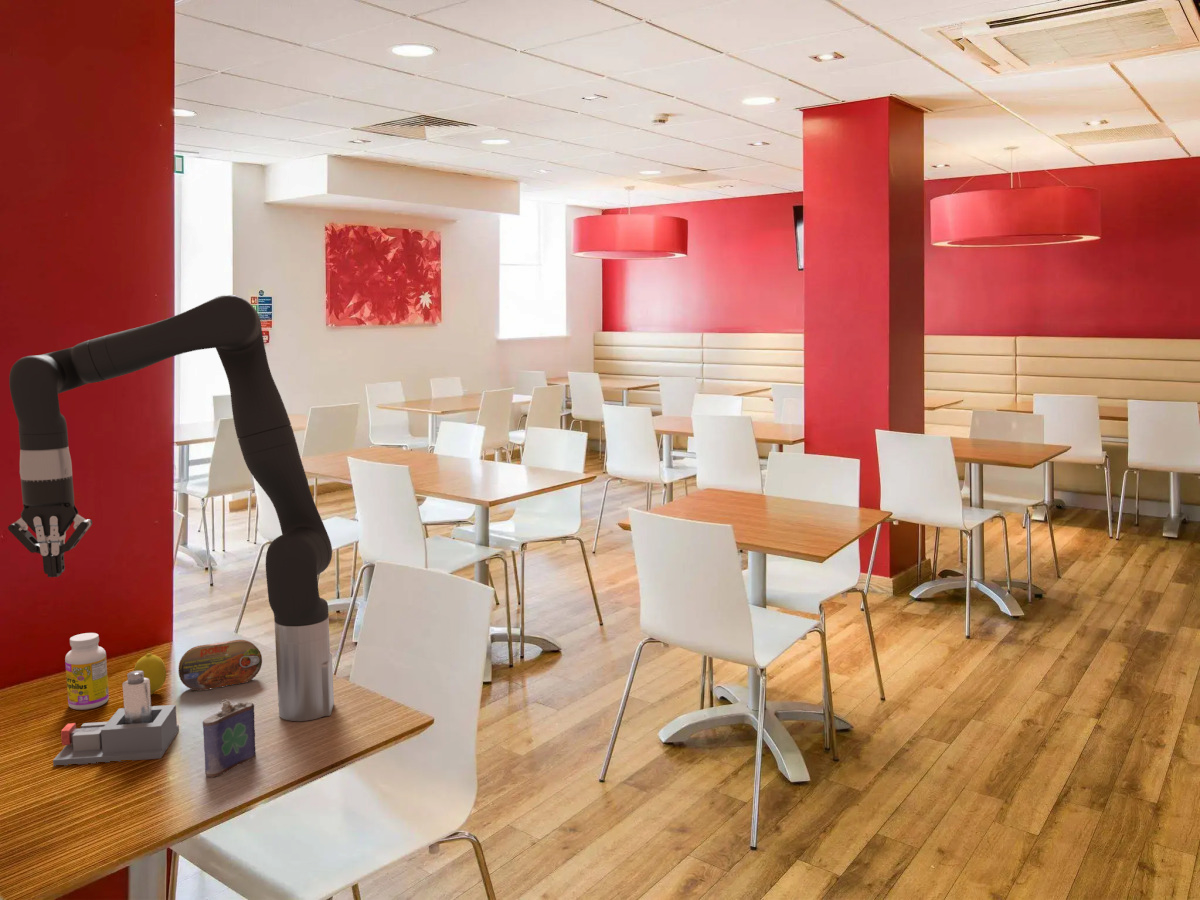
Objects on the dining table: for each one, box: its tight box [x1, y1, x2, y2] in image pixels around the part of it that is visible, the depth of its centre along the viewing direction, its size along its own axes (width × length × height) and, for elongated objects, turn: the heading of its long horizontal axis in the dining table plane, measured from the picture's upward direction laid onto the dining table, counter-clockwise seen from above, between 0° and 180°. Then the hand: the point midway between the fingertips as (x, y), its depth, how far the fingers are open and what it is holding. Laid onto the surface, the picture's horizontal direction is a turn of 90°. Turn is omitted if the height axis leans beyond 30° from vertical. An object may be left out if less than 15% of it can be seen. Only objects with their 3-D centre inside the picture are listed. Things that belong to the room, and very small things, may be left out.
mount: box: [52, 704, 180, 767], centre depth 159 cm, size 16×11×5 cm
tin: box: [178, 639, 263, 692], centre depth 186 cm, size 15×3×8 cm, turn 117°
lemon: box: [133, 652, 167, 695], centre depth 182 cm, size 6×6×8 cm
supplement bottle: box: [64, 632, 110, 711], centre depth 177 cm, size 7×7×13 cm
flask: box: [202, 698, 257, 779], centre depth 152 cm, size 9×3×11 cm, turn 151°
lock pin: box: [60, 722, 103, 746], centre depth 158 cm, size 9×3×2 cm, turn 100°
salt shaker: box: [122, 670, 152, 724], centre depth 159 cm, size 4×4×12 cm
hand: (54, 575), depth 163 cm, fingers closed
